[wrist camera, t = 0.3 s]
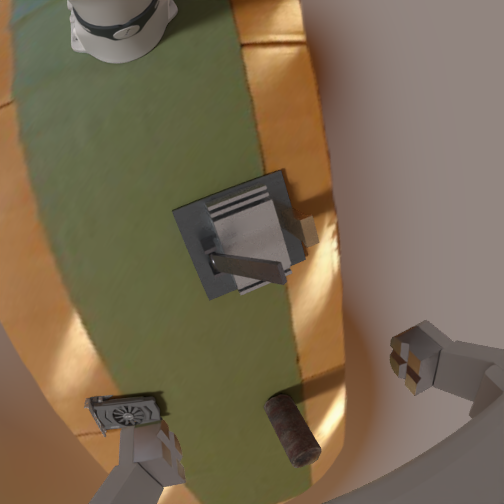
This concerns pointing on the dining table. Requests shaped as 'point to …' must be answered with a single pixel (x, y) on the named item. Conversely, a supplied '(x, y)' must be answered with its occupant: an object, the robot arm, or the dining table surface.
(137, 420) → the graphics card
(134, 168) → the dining table surface
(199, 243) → the grey boxy piece
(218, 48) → the dining table surface
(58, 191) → the dining table surface
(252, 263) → the retention strap
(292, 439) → the candle
